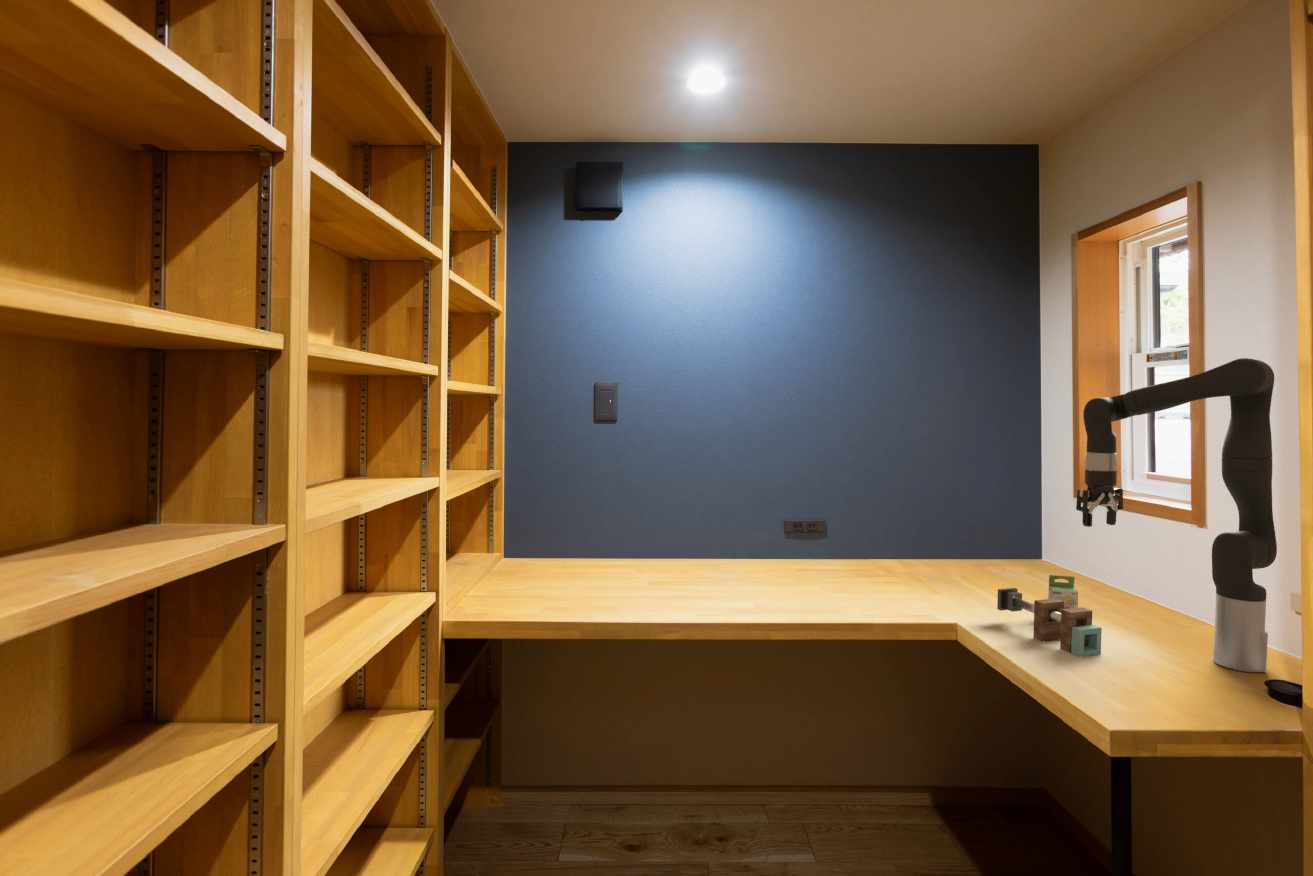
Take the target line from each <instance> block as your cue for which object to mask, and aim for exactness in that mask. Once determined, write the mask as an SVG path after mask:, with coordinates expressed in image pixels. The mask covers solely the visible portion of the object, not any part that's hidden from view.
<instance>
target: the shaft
mask: <svg viewBox="0 0 1313 876" xmlns="http://www.w3.org/2000/svg"><path fill="white" fill-rule="evenodd" d="M996 603H997V604H996V605H997V607H996V609H997V611H1010V612H1019V611H1022V610H1025V611H1027V612H1030V613H1033V614H1034V602H1033V603H1032V602H1029V601H1026V600H1023V593H1021V592H1018V588H1016V587H1007V588H999V589H997V602H996ZM1048 618H1049V619H1052V620H1055V621H1057V622H1060V623H1061V613H1058V612H1056V611H1053V610H1050V609H1048ZM1078 624H1079V621H1078V619H1076V627H1077V626H1078Z"/></svg>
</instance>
